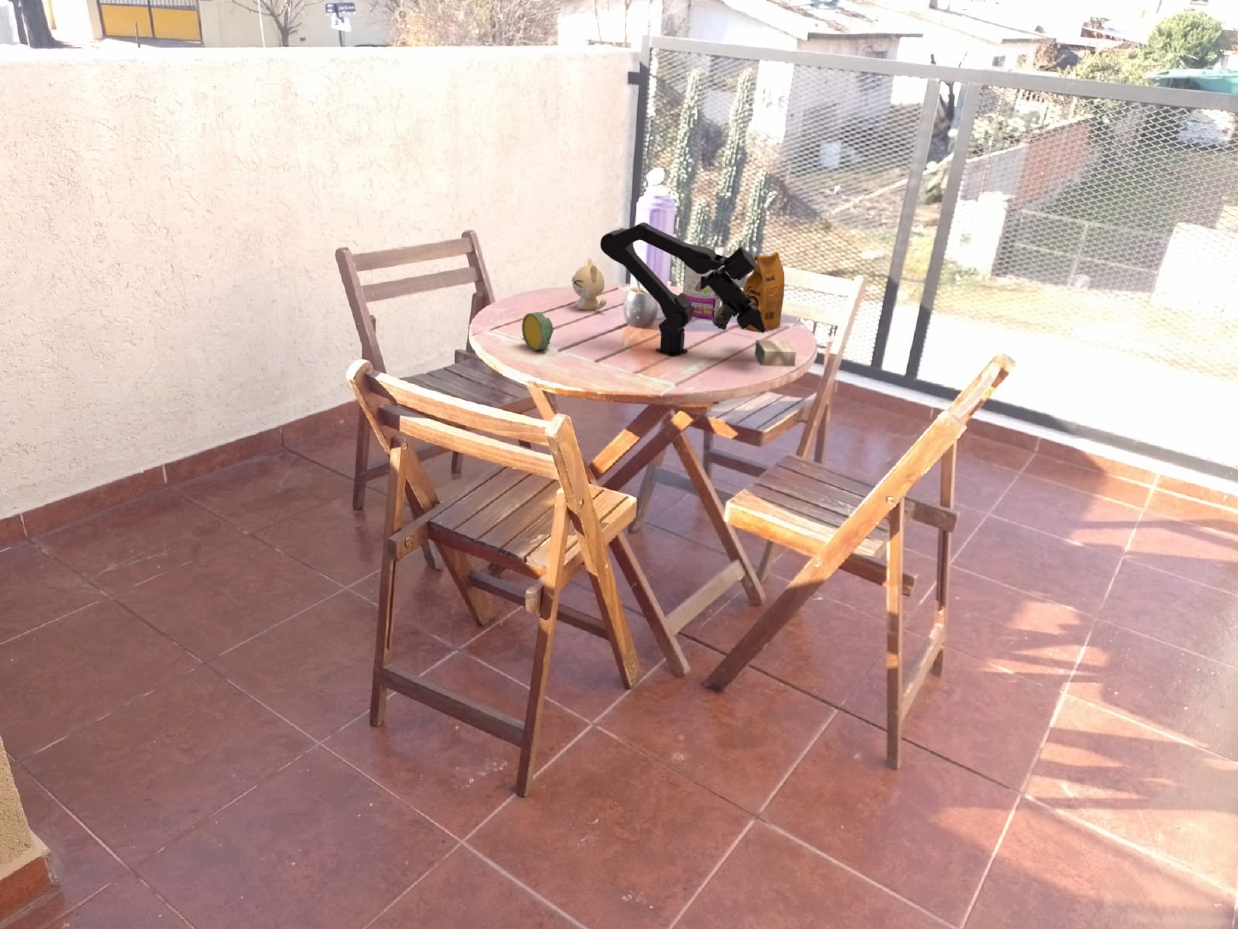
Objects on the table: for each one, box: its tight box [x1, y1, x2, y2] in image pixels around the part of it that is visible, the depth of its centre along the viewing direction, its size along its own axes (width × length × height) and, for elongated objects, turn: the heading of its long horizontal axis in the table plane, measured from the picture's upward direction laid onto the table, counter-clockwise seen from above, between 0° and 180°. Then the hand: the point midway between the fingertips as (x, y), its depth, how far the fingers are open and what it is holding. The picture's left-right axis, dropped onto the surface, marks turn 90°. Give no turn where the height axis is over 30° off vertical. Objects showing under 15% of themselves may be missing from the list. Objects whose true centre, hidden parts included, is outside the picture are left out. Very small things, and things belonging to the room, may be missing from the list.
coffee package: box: [742, 251, 786, 333], centre depth 269 cm, size 10×12×22 cm
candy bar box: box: [682, 264, 724, 321], centre depth 279 cm, size 11×5×16 cm, turn 62°
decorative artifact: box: [521, 311, 555, 351], centre depth 244 cm, size 10×7×10 cm
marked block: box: [754, 339, 797, 367], centre depth 244 cm, size 4×10×9 cm
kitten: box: [571, 258, 608, 311], centre depth 281 cm, size 15×10×15 cm
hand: (764, 331), depth 241 cm, fingers closed
